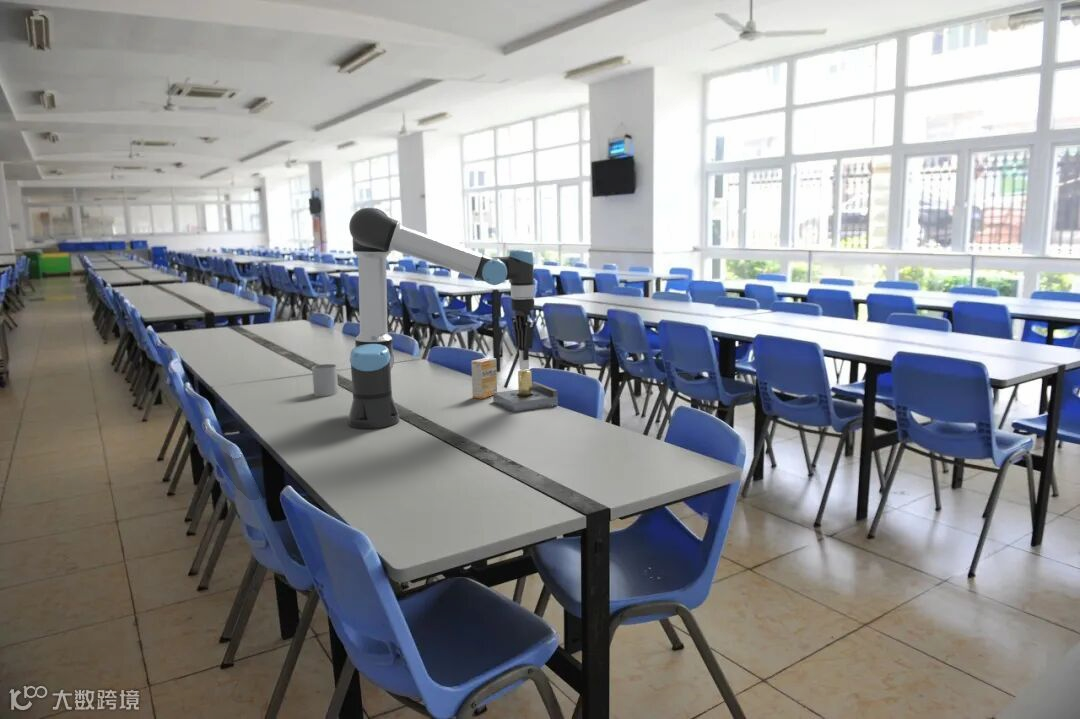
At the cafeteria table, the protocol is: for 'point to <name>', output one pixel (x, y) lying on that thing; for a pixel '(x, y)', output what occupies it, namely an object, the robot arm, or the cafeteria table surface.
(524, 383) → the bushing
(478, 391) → the supplement box
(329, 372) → the cup
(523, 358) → the robot arm
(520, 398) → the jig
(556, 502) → the cafeteria table surface
